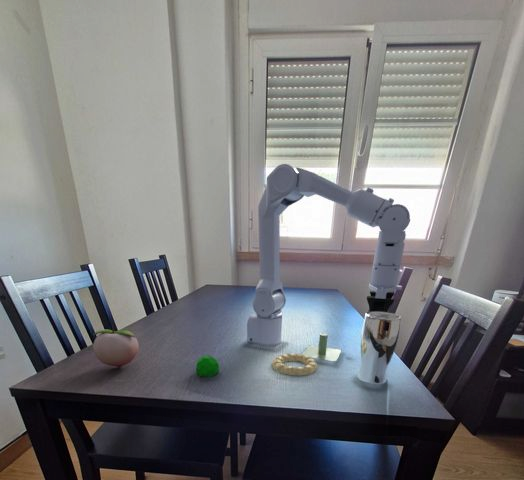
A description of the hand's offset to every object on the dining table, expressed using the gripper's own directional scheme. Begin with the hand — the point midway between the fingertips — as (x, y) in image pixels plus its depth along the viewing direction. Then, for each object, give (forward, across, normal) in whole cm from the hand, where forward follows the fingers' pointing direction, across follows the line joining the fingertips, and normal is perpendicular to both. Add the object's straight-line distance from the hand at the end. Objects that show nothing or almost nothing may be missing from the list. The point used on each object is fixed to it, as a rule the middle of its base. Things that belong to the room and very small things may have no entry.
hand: (376, 323), depth 68 cm
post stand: (+10, -2, +12) cm, 16 cm away
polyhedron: (+10, -25, +32) cm, 42 cm away
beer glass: (+10, -12, -1) cm, 16 cm away
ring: (+9, -13, +16) cm, 22 cm away
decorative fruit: (+10, -30, +53) cm, 62 cm away
